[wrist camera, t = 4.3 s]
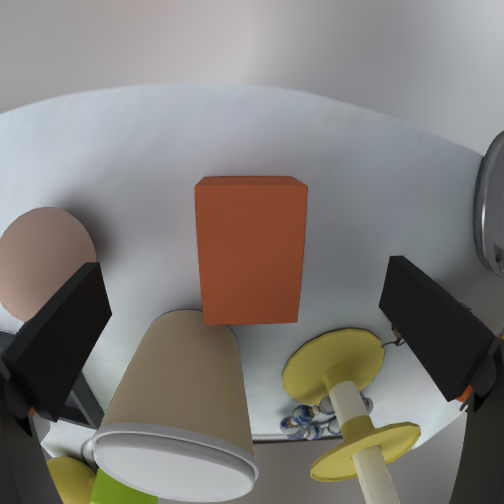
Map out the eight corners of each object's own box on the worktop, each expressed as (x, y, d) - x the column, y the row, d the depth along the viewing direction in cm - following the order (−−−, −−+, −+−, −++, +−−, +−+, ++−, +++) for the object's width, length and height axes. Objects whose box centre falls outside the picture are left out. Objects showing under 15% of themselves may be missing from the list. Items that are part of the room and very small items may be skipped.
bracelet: (386, 384, 23) (392, 399, 22) (343, 423, 28) (347, 437, 27) (297, 392, 21) (301, 412, 20) (268, 430, 26) (270, 446, 25)
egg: (122, 213, 17) (54, 264, 9) (106, 298, 19) (59, 371, 12) (44, 184, 16) (-35, 215, 8) (37, 267, 18) (-22, 320, 10)
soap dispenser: (166, 434, 27) (150, 579, 8) (113, 411, 25) (76, 558, 6) (187, 415, 25) (173, 587, 7) (127, 389, 23) (82, 565, 5)
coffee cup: (162, 388, 23) (140, 498, 12) (119, 309, 20) (54, 432, 9) (258, 376, 23) (272, 499, 12) (233, 288, 20) (235, 442, 8)
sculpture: (58, 493, 28) (41, 519, 16) (41, 444, 32) (16, 462, 21) (120, 498, 34) (115, 529, 22) (104, 449, 38) (92, 473, 26)
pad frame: (69, 346, 21) (58, 363, 19) (104, 414, 25) (98, 430, 23) (-17, 327, 20) (-27, 338, 18) (18, 389, 25) (11, 401, 22)
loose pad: (292, 176, 17) (308, 185, 13) (286, 290, 20) (297, 322, 16) (203, 176, 17) (194, 186, 13) (209, 291, 20) (204, 324, 16)
